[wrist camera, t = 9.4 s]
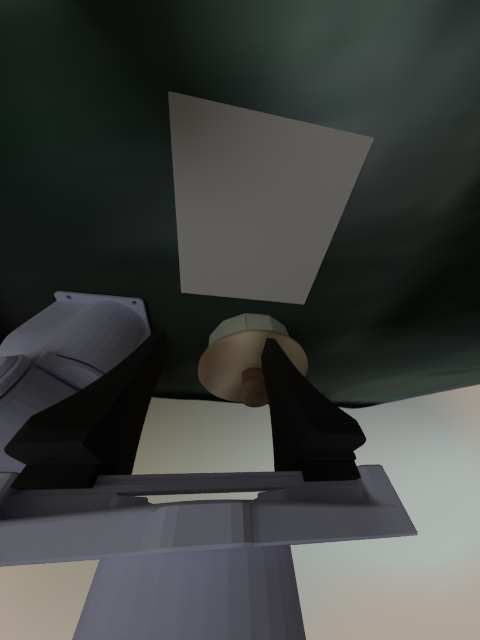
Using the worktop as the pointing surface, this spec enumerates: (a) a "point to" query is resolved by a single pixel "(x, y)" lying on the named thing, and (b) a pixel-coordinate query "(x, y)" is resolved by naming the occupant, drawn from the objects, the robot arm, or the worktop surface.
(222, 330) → the bowl
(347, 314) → the worktop surface
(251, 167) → the mat
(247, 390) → the lid
